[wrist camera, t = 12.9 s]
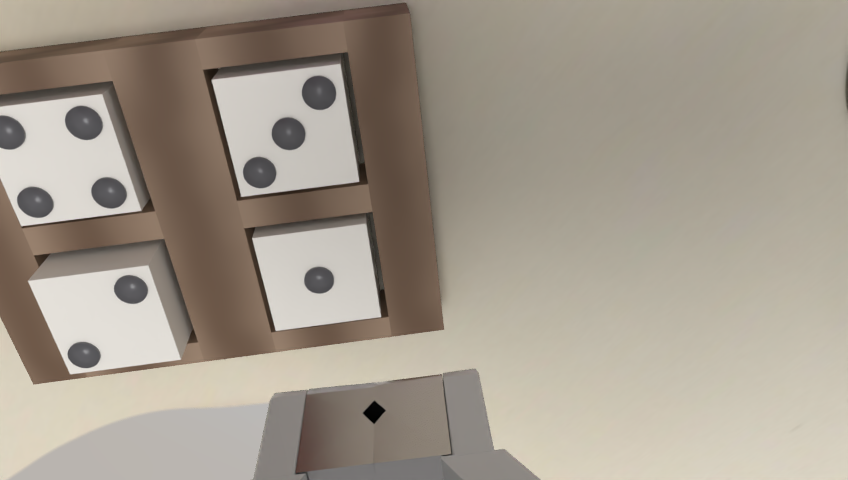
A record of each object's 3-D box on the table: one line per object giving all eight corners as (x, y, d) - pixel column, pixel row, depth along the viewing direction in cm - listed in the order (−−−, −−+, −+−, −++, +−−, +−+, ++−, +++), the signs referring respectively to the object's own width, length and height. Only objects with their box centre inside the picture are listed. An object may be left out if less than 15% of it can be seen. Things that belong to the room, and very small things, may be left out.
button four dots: (123, 76, 34) (100, 95, 31) (158, 185, 37) (140, 212, 34) (3, 91, 34) (-32, 111, 31) (47, 199, 36) (19, 228, 33)
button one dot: (365, 198, 38) (366, 225, 35) (379, 286, 41) (381, 319, 38) (260, 211, 38) (251, 240, 35) (281, 299, 41) (275, 333, 38)
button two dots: (164, 235, 36) (147, 267, 34) (193, 325, 39) (180, 361, 36) (53, 249, 36) (26, 283, 33) (90, 339, 39) (68, 376, 36)
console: (405, 2, 34) (409, 13, 31) (438, 301, 42) (444, 329, 40) (-80, 61, 33) (-118, 77, 30) (54, 352, 42) (33, 384, 39)
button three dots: (342, 48, 34) (340, 65, 31) (359, 158, 37) (359, 183, 34) (223, 63, 34) (210, 80, 31) (250, 172, 37) (240, 198, 34)
